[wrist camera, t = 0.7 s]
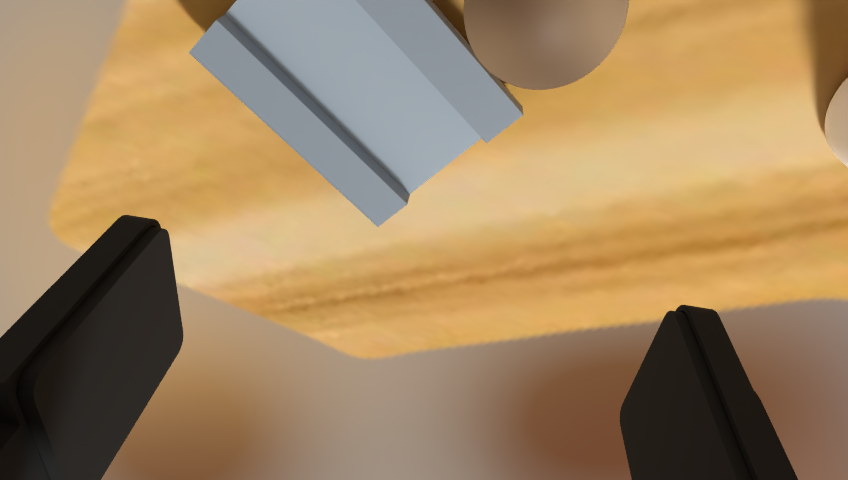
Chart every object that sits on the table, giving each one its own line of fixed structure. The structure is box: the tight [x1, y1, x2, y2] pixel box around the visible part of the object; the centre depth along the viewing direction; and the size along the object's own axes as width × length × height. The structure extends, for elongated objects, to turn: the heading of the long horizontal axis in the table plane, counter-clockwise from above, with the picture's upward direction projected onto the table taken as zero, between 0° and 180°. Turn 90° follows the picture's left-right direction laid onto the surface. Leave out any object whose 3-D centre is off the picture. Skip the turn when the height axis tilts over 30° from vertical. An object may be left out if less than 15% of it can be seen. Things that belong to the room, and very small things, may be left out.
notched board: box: [189, 0, 523, 227], centre depth 32 cm, size 11×14×2 cm
